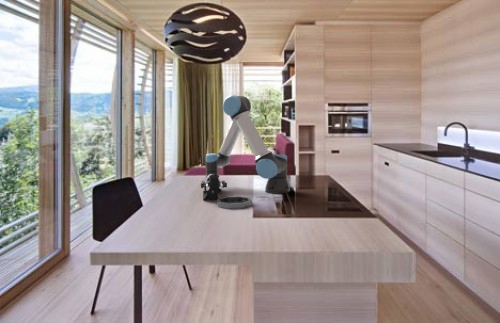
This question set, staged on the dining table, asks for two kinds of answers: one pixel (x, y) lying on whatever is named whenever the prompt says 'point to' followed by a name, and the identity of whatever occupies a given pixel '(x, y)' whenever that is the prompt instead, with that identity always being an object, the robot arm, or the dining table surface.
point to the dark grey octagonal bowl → (234, 202)
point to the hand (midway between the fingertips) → (214, 188)
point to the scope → (212, 189)
